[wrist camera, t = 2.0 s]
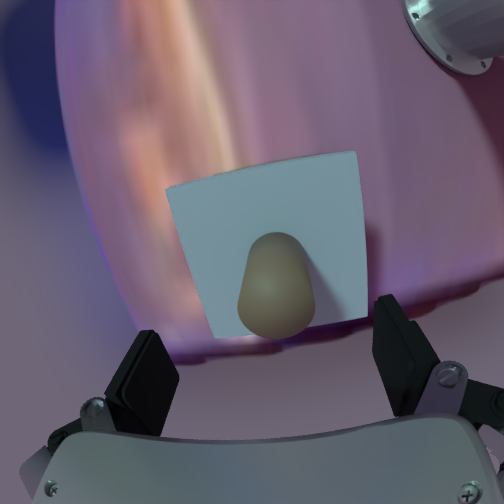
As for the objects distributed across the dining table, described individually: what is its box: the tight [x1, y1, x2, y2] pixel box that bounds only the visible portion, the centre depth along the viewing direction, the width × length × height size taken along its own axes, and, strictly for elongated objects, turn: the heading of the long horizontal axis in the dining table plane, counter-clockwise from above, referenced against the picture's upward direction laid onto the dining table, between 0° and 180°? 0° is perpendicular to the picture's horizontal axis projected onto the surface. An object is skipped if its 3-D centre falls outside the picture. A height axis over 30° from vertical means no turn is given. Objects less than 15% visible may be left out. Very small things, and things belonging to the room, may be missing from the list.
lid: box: [165, 151, 368, 339], centre depth 16 cm, size 12×12×6 cm
